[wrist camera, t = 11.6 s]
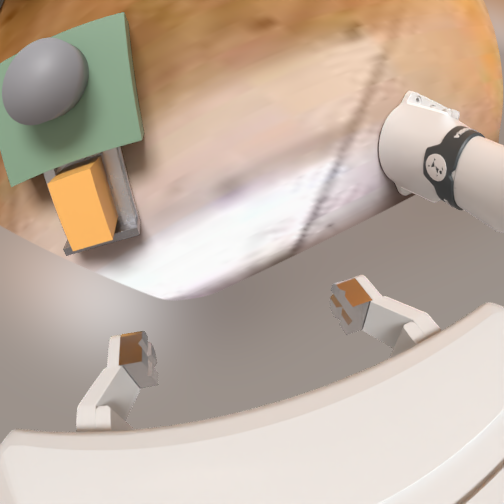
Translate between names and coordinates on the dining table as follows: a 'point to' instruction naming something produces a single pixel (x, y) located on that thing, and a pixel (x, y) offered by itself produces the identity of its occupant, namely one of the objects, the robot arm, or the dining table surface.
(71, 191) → the orange block
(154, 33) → the dining table surface
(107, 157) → the open gray drawer
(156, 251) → the dining table surface
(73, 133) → the green block with dome
